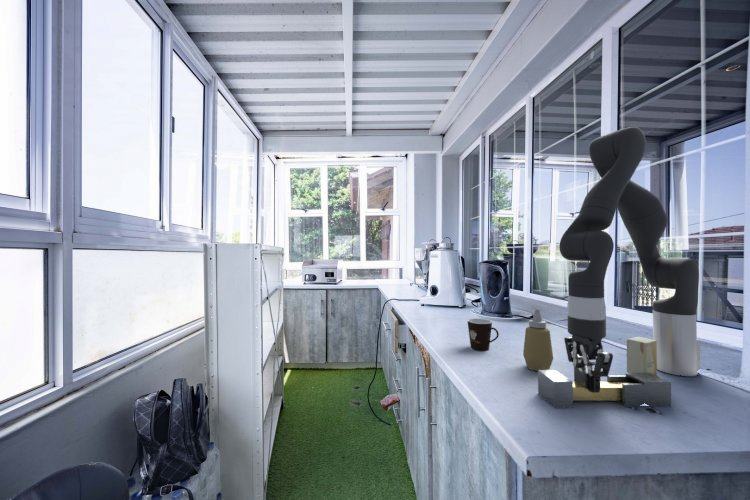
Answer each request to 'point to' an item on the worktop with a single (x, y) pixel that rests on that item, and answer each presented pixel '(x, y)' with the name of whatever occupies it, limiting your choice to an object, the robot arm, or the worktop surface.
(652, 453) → the worktop surface
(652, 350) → the skincare box
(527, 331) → the squeeze bottle
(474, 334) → the coffee mug
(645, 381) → the sleeve
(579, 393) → the yellow bar
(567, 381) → the socket
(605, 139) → the robot arm
